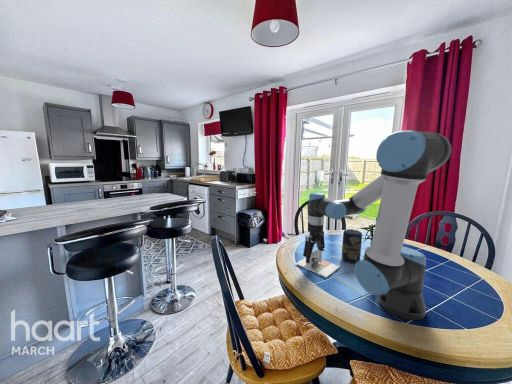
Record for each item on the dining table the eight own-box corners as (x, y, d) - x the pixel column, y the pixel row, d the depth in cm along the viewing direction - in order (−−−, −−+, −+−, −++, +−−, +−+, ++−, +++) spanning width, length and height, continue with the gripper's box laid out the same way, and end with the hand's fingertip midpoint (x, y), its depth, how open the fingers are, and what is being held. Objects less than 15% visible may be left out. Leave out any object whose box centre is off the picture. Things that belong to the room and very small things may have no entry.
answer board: (339, 268, 108) (340, 266, 108) (326, 278, 99) (326, 276, 99) (310, 256, 121) (310, 254, 121) (295, 264, 112) (295, 262, 112)
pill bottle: (306, 265, 109) (307, 250, 108) (314, 263, 111) (314, 248, 110) (312, 269, 105) (312, 253, 104) (319, 267, 107) (320, 252, 105)
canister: (342, 263, 114) (344, 231, 111) (340, 255, 123) (342, 226, 120) (361, 265, 111) (364, 233, 109) (357, 257, 121) (360, 227, 118)
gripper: (320, 217, 114) (318, 255, 118) (296, 226, 100) (295, 269, 103) (333, 220, 109) (330, 260, 112) (309, 230, 94) (308, 276, 98)
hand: (313, 264), depth 108 cm, fingers open, 9 cm apart
